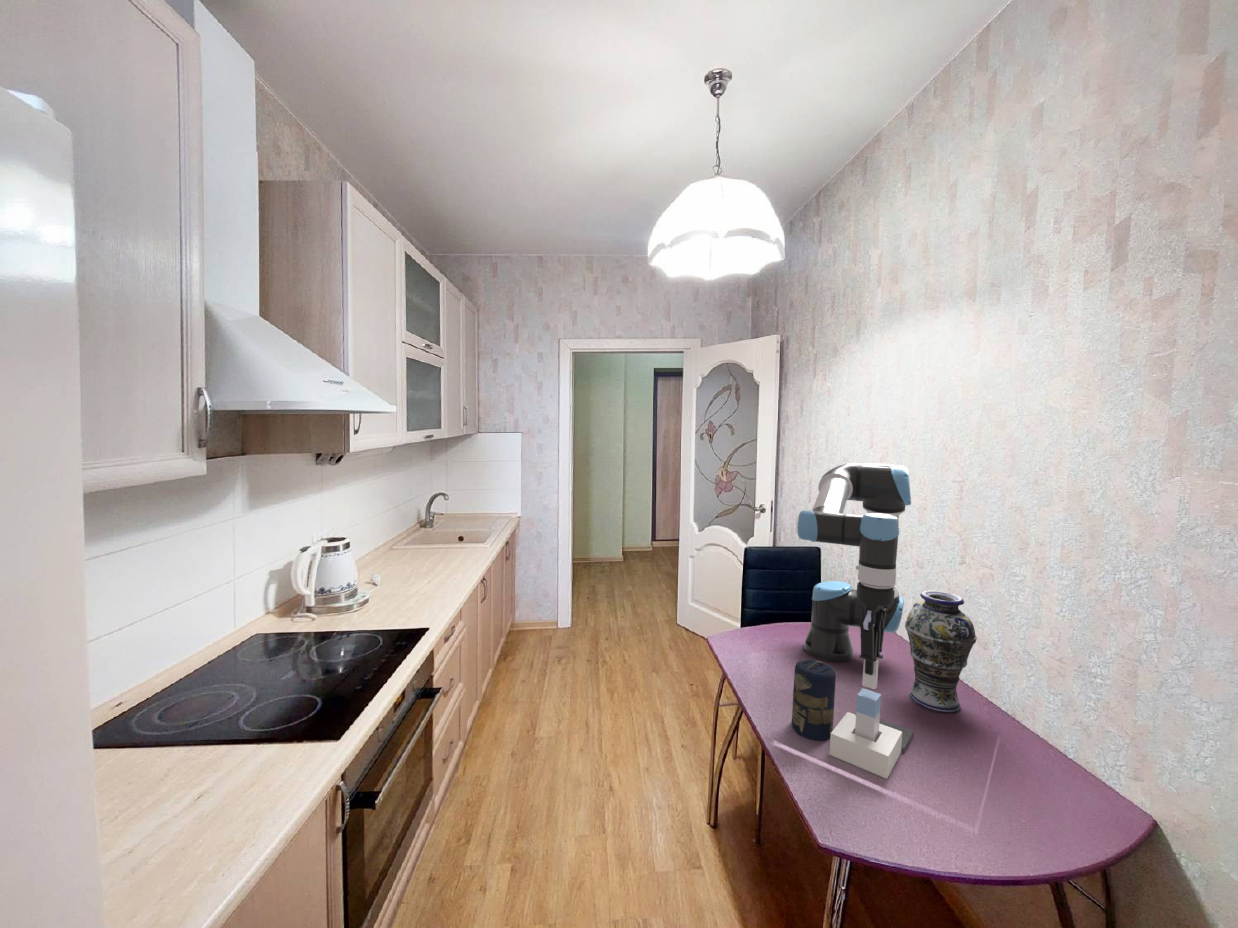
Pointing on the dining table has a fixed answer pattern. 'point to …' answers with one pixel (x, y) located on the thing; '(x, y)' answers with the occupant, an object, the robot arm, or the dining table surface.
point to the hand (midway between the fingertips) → (869, 686)
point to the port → (866, 747)
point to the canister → (813, 699)
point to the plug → (868, 714)
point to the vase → (938, 649)
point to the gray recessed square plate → (906, 734)
